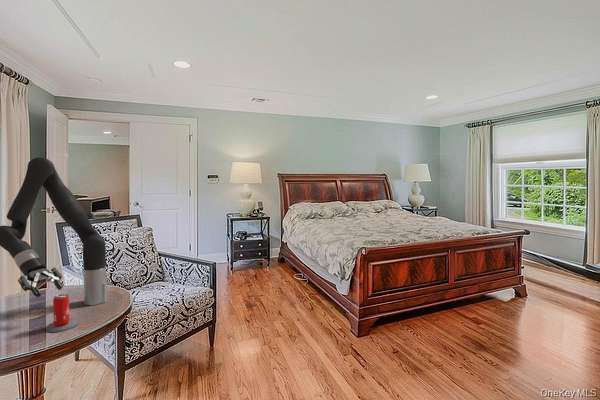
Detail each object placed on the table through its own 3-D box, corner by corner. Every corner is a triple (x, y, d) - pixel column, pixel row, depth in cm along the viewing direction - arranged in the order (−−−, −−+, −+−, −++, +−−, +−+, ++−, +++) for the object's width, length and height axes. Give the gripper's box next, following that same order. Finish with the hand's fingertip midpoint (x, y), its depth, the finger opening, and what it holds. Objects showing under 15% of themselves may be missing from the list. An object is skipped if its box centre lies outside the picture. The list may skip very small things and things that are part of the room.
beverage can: (58, 321, 130) (58, 294, 130) (72, 321, 131) (71, 293, 131) (50, 327, 125) (50, 298, 125) (64, 327, 126) (64, 298, 125)
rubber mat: (82, 318, 136) (82, 316, 136) (75, 329, 126) (75, 327, 126) (51, 322, 132) (51, 320, 131) (41, 334, 121) (41, 332, 121)
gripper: (14, 261, 124) (36, 292, 122) (51, 253, 138) (72, 281, 135) (5, 273, 126) (27, 303, 123) (42, 264, 139) (63, 291, 137)
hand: (50, 292), depth 129 cm, fingers open, 8 cm apart
